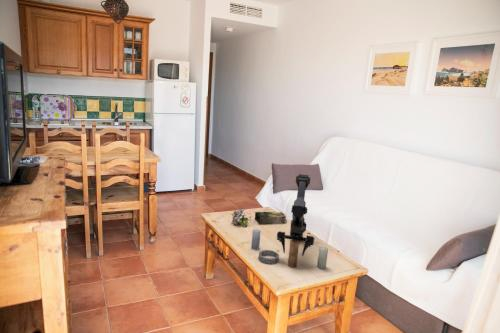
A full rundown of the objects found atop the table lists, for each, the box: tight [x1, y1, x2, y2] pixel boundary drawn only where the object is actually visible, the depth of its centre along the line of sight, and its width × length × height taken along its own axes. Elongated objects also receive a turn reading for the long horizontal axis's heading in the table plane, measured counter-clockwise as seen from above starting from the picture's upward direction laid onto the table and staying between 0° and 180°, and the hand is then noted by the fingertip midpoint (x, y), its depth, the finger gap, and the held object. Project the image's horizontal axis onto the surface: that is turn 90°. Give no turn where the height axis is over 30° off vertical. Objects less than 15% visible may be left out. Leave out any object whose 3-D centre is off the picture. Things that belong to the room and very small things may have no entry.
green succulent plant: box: [231, 208, 252, 228], centre depth 225 cm, size 11×11×12 cm
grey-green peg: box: [316, 246, 329, 270], centre depth 176 cm, size 4×4×10 cm
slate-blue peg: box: [250, 228, 261, 250], centre depth 192 cm, size 4×4×10 cm
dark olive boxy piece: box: [254, 211, 287, 225], centre depth 233 cm, size 20×10×6 cm, turn 106°
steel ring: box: [257, 249, 280, 265], centre depth 181 cm, size 10×10×2 cm
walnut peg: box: [287, 239, 300, 269], centre depth 174 cm, size 4×4×13 cm
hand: (293, 254), depth 173 cm, fingers open, 9 cm apart
